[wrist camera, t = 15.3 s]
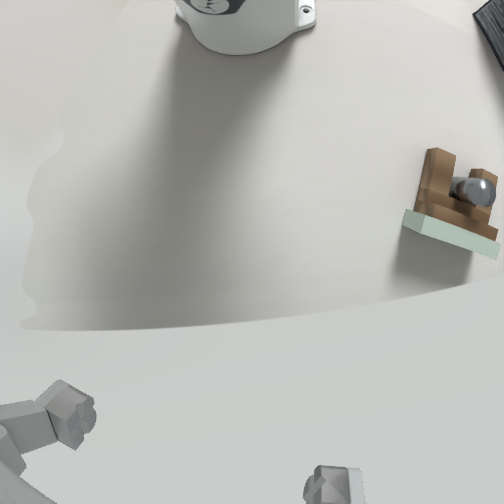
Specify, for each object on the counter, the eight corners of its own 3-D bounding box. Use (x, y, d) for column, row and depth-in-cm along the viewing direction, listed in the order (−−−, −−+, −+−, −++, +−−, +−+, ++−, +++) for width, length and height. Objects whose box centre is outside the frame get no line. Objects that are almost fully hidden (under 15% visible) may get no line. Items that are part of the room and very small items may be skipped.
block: (427, 149, 30) (447, 145, 25) (485, 176, 29) (509, 177, 24) (413, 211, 32) (432, 217, 27) (472, 232, 32) (495, 241, 26)
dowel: (445, 173, 31) (479, 174, 23) (463, 180, 31) (497, 184, 23) (441, 196, 32) (473, 202, 24) (458, 202, 31) (492, 210, 24)
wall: (406, 208, 33) (425, 215, 27) (476, 234, 32) (500, 244, 26) (401, 224, 33) (420, 233, 27) (472, 248, 32) (496, 260, 26)
